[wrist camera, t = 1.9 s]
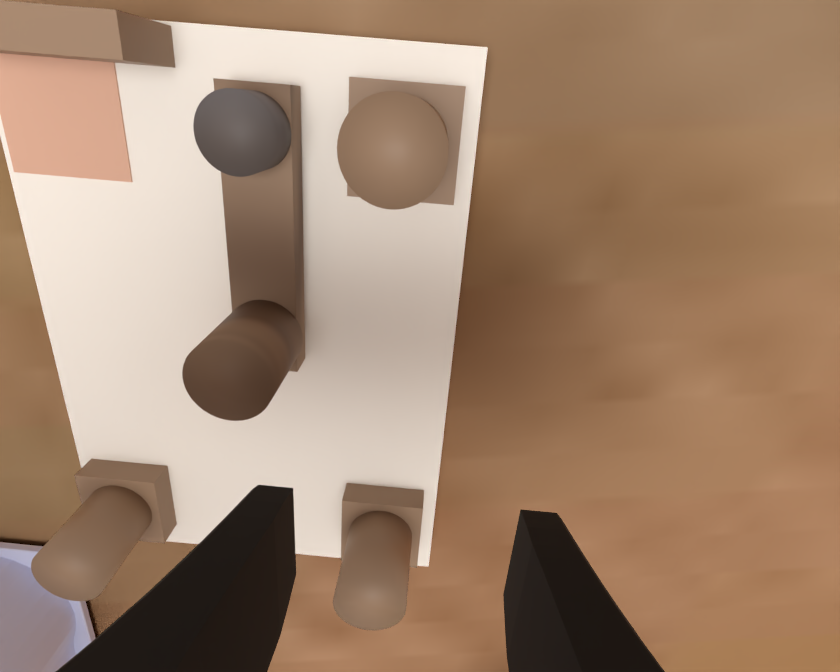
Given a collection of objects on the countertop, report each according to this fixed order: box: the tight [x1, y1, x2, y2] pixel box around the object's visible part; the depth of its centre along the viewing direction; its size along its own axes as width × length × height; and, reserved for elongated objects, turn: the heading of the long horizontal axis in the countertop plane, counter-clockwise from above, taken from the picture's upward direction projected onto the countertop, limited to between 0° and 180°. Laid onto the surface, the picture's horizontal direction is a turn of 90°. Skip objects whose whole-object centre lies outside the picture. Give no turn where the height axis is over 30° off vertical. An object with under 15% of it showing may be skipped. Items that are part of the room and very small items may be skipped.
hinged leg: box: [182, 78, 305, 421], centre depth 14 cm, size 8×2×4 cm, turn 176°
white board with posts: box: [0, 0, 488, 630], centre depth 16 cm, size 19×14×6 cm
